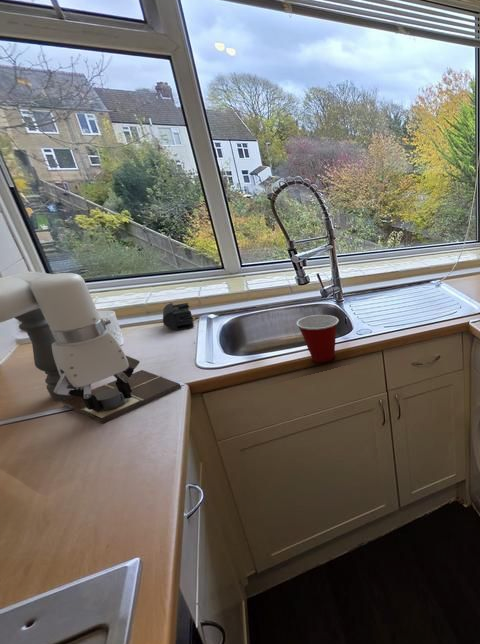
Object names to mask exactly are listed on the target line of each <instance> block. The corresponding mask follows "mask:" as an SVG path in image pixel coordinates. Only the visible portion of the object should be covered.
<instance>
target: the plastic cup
mask: <svg viewBox="0 0 480 644" xmlns="http://www.w3.org/2000/svg"><path fill="white" fill-rule="evenodd" d="M339 322H340V319H339V318H338V317H337V316H334V315H330V314H329V315H328V314H314V315H308V316H304V317H302V318H299V319H298V320H297V321H296V327H298V328H299V330H300V332H301V335H302V337H303V339H304V342H305V345H306V347H307V350H308V352H309V354H310V356H311V358H312V360H313V362H315V363H326V362H329V361H331V360H333V359H334V358H335V354H336V352H335V351H336V338H337V337H336V335H337V333H336V332H337V327H338V323H339Z"/></svg>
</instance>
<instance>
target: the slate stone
mask: <svg viewBox="0 0 480 644" xmlns="http://www.w3.org/2000/svg"><path fill="white" fill-rule="evenodd" d="M95 397H96V398H97V401H98V403H99V405H100V407H101V409H102V410H101V411H110V410H114V409H117V408H119V407H121V406H123V405H124V404H125V403H126V402H127V399H126V397H125V394H124V392H123V390H122V389H121V388H112V389H108V390H104V391H102V392H99V393H98V394H96V395H95Z"/></svg>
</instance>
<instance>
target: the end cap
mask: <svg viewBox="0 0 480 644" xmlns="http://www.w3.org/2000/svg"><path fill="white" fill-rule="evenodd" d="M162 323H163V325H164V326H165V327H166V328H168V329H170V330H174V331H184V330H188V329H194V327H195V324H194V318H193V315H192V312H191V310H190V305H189V303H188V302H185V303H178V304H174V303H173V302H169V303H168V304H166V305H165V306H164V307H163V310H162Z"/></svg>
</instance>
